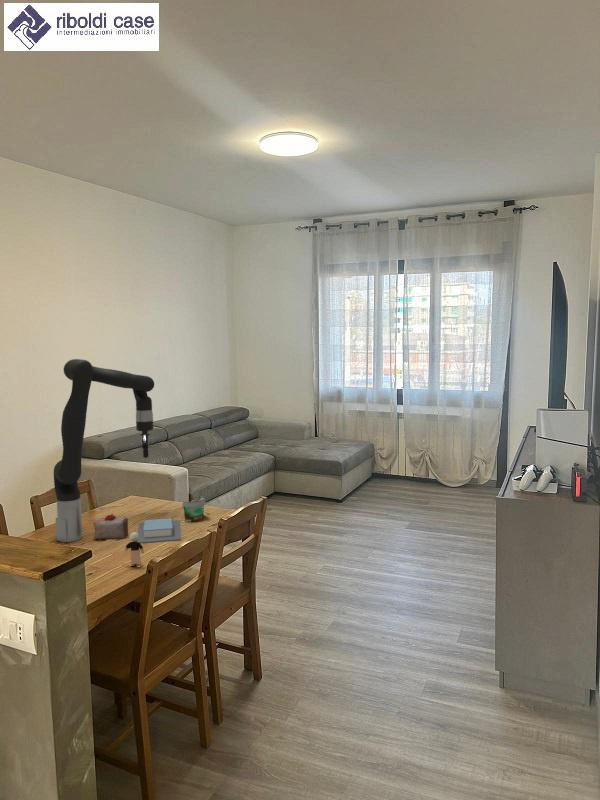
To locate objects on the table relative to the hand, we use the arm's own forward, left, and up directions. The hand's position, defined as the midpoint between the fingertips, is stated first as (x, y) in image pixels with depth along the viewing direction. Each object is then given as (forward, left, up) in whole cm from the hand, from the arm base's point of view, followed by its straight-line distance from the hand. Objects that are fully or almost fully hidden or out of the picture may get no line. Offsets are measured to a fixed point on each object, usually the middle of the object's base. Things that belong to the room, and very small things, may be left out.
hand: (146, 457), depth 270 cm
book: (-7, -14, -27) cm, 31 cm away
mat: (-11, -18, -29) cm, 36 cm away
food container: (+9, -22, -29) cm, 38 cm away
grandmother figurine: (-43, -38, -29) cm, 64 cm away
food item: (-26, -5, -29) cm, 40 cm away
